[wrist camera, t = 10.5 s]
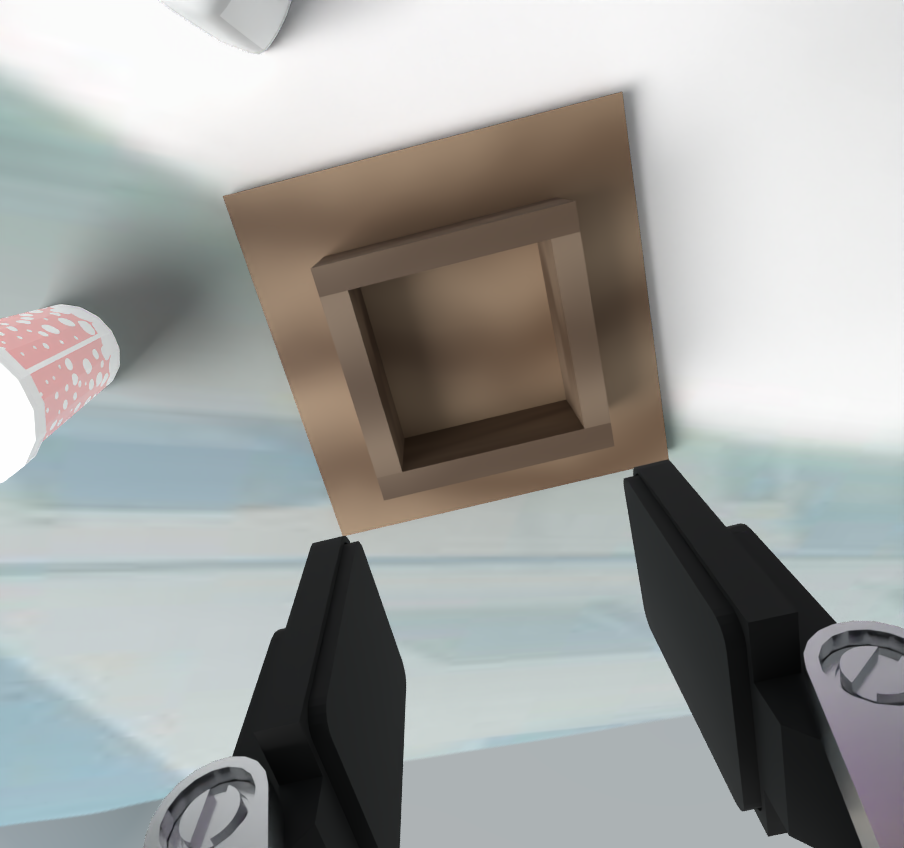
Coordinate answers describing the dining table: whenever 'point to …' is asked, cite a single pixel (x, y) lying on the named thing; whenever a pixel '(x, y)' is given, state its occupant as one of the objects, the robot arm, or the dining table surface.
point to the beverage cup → (48, 375)
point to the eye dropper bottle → (235, 20)
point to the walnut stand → (463, 314)
